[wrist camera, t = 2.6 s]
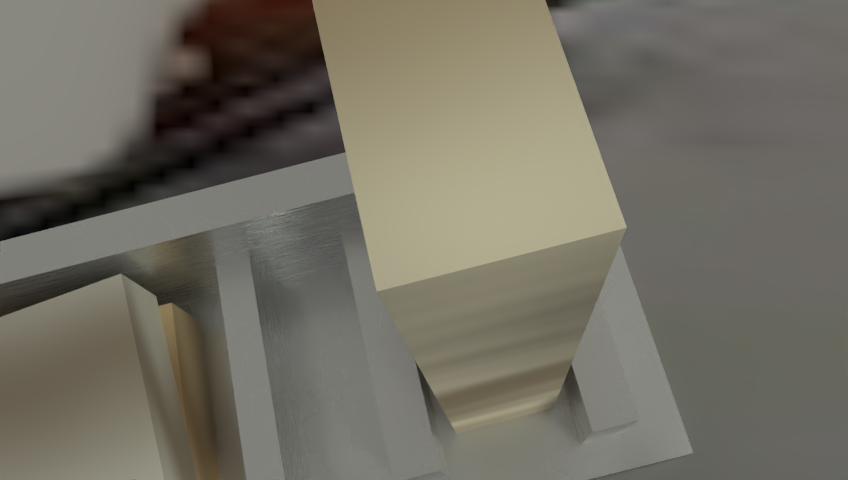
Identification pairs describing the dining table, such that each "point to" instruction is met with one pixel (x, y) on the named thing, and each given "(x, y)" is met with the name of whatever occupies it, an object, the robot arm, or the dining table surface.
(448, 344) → the beige wooden block
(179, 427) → the offcut pile
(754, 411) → the dining table surface
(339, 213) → the offcut rack
